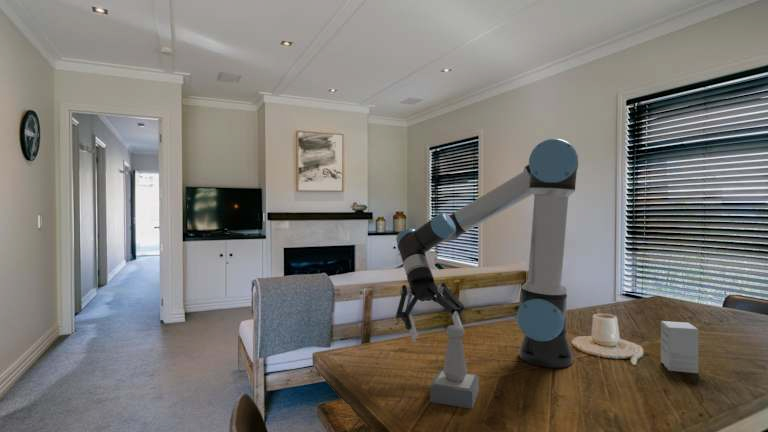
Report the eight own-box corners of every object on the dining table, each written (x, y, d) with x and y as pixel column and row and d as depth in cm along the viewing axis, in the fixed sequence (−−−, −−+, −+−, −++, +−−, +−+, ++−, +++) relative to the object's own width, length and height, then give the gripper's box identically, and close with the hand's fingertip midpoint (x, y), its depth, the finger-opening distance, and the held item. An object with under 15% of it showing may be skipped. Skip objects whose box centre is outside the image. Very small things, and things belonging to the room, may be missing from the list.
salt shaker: (466, 384, 99) (466, 330, 98) (442, 382, 100) (442, 329, 100) (466, 375, 104) (467, 323, 104) (443, 373, 106) (444, 322, 105)
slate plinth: (478, 391, 105) (478, 374, 105) (472, 408, 96) (472, 390, 96) (439, 385, 109) (439, 368, 109) (430, 401, 99) (430, 384, 99)
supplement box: (689, 364, 122) (689, 322, 122) (698, 374, 115) (699, 329, 115) (660, 361, 125) (660, 320, 125) (667, 371, 118) (668, 326, 118)
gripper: (452, 278, 132) (475, 339, 118) (376, 282, 125) (391, 348, 110) (459, 263, 127) (485, 326, 112) (381, 267, 119) (398, 334, 105)
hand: (439, 337), depth 111 cm, fingers open, 13 cm apart
